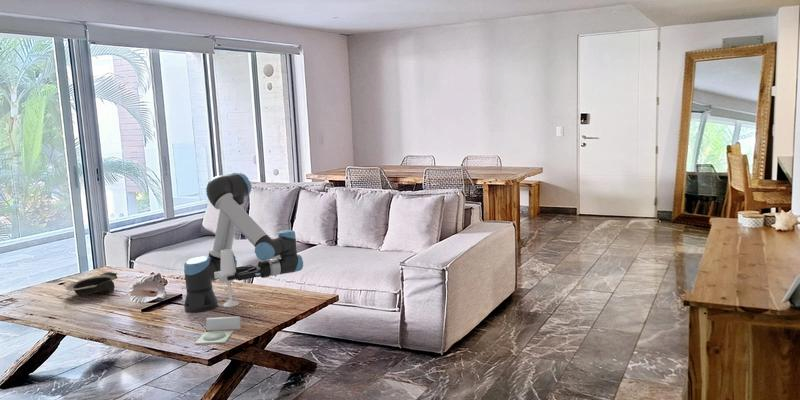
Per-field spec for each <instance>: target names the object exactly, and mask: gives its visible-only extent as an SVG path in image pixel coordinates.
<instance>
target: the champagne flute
mask: <svg viewBox="0 0 800 400" xmlns="http://www.w3.org/2000/svg"><path fill="white" fill-rule="evenodd" d="M232 251H233V249H225V250H221V271H220V276H222V275H227V274H233V273H234V275H235V272H236V269H235V263H234V258H233V253H234V251H233V252H232ZM232 282H234V280H231V281H226V282H225V283H227V288H228V300H227V301H226V302H225V303H223V305H222V306H223V307H224V308H225V307H226V308H231V307H236V306H238V305H239V304H240V303H239V301H235V300H233V296H232V285H231V283H232Z"/></svg>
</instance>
